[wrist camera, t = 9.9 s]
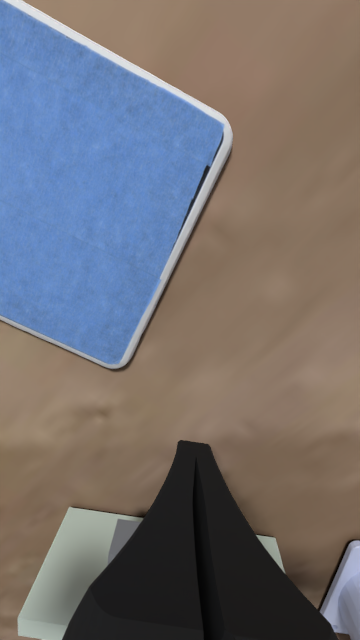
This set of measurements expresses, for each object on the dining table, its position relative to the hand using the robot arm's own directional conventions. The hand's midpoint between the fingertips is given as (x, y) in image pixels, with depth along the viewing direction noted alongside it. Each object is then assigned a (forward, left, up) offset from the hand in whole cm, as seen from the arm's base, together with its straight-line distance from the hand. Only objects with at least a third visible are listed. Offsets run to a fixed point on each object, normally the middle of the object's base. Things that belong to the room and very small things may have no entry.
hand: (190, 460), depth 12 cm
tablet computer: (+11, -11, -4) cm, 16 cm away
